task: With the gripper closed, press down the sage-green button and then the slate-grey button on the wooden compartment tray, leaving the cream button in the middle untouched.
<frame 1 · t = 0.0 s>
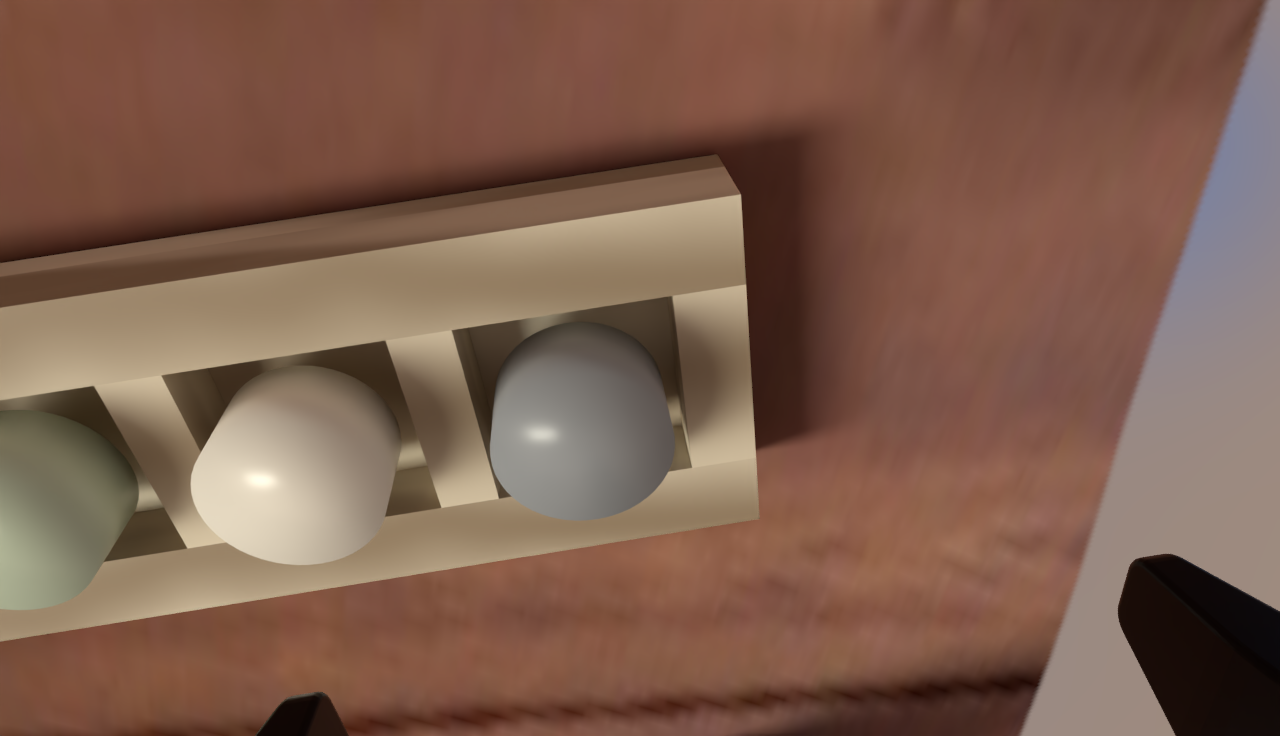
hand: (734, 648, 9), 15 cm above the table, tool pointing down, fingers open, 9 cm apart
button sage: (21, 510, 20), point 4 cm above the table, slide at 0.0 cm
button cream: (303, 465, 20), point 4 cm above the table, slide at 0.0 cm
button slate: (581, 421, 21), point 4 cm above the table, slide at 0.0 cm
wooden compartment tray: (335, 383, 24), on the table
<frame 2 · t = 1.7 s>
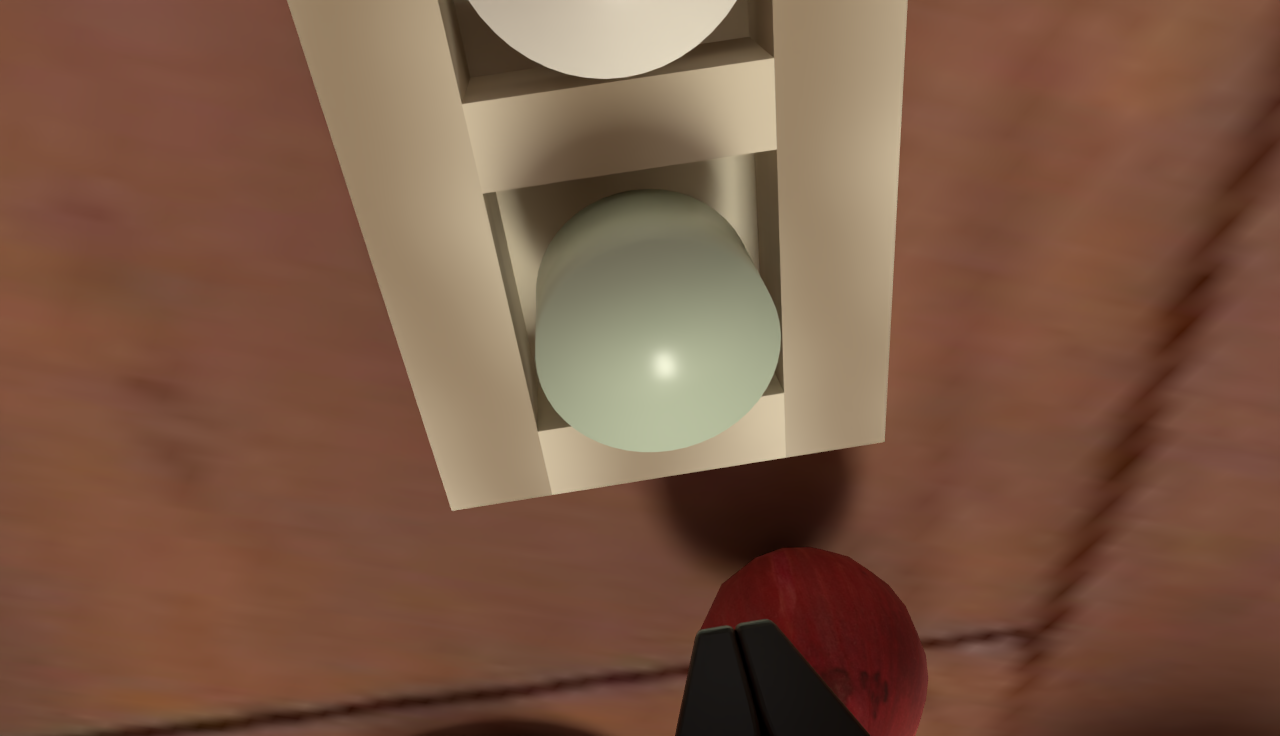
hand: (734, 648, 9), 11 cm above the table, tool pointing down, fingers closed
button sage: (651, 321, 16), point 4 cm above the table, slide at 0.0 cm
onion: (773, 557, 25), on the table
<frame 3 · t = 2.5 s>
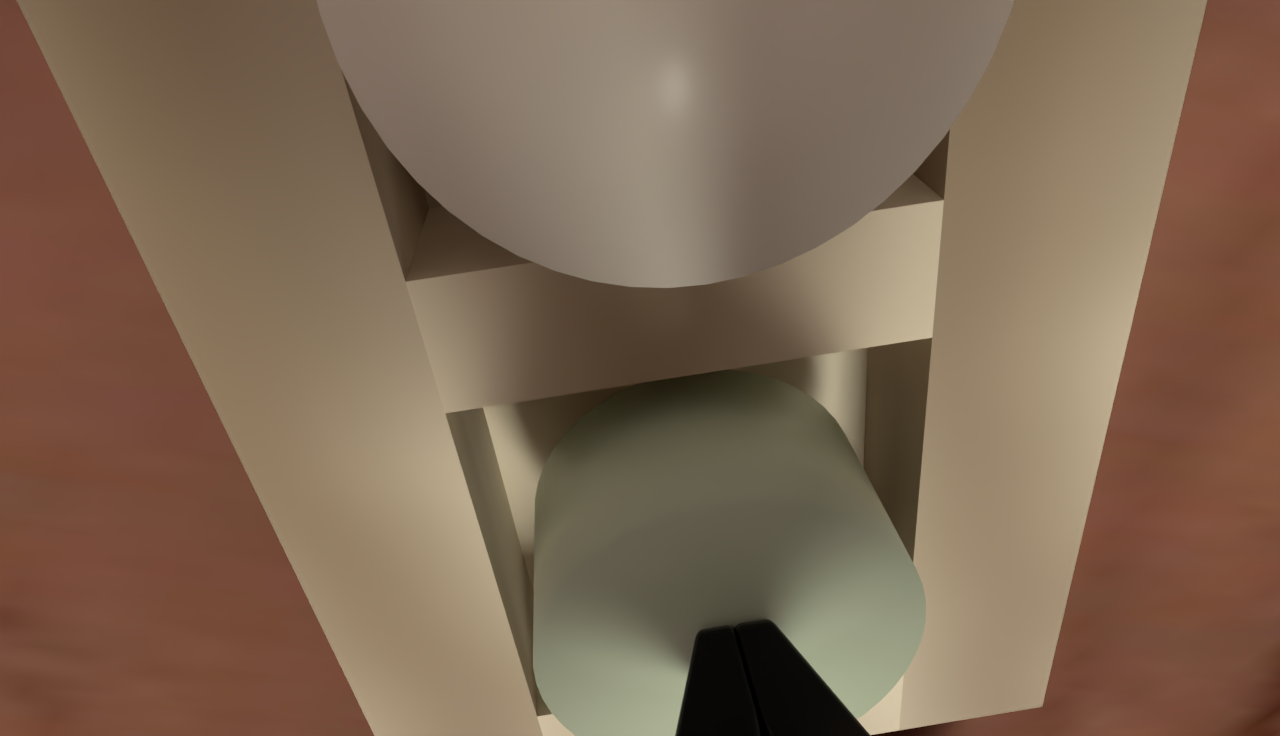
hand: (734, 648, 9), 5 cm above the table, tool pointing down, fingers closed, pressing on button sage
button sage: (713, 571, 10), point 3 cm above the table, slide at 0.5 cm, touching gripper
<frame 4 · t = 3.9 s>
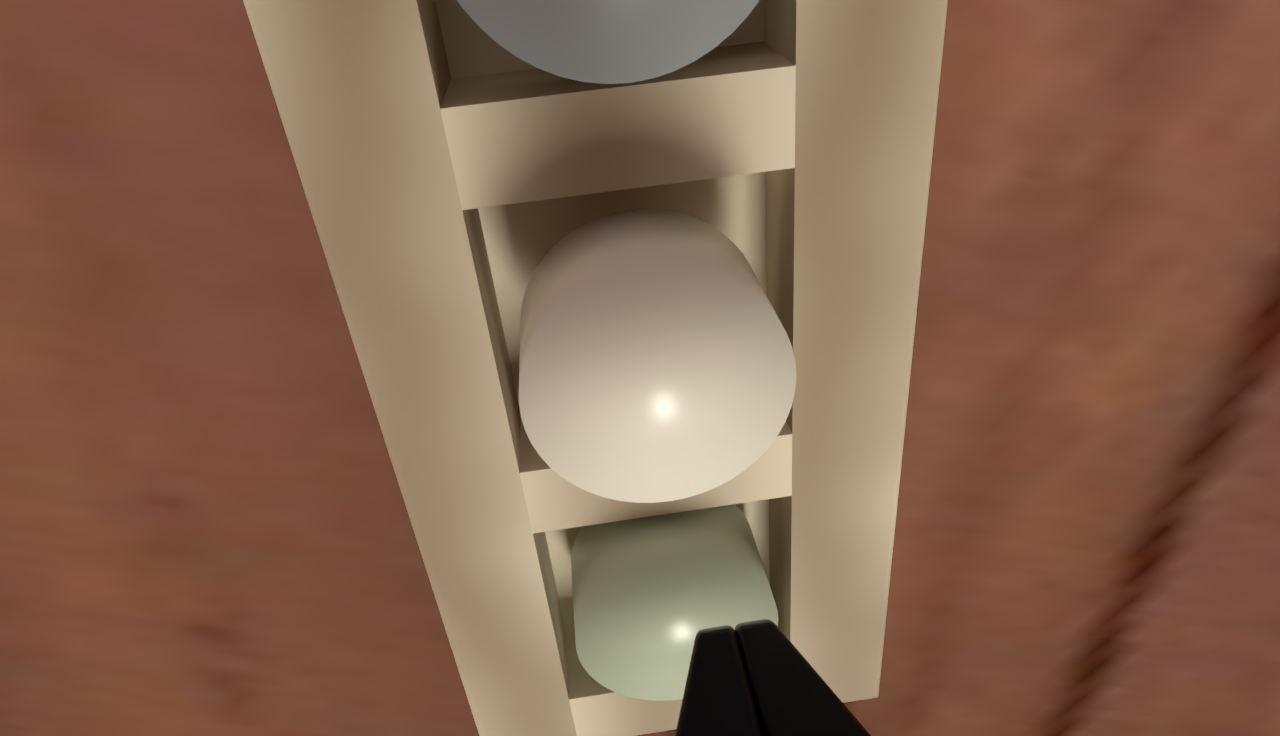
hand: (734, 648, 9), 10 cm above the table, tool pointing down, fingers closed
button sage: (670, 592, 19), point 3 cm above the table, slide at 1.2 cm
button cream: (650, 356, 14), point 4 cm above the table, slide at 0.0 cm
wooden compartment tray: (628, 264, 17), on the table
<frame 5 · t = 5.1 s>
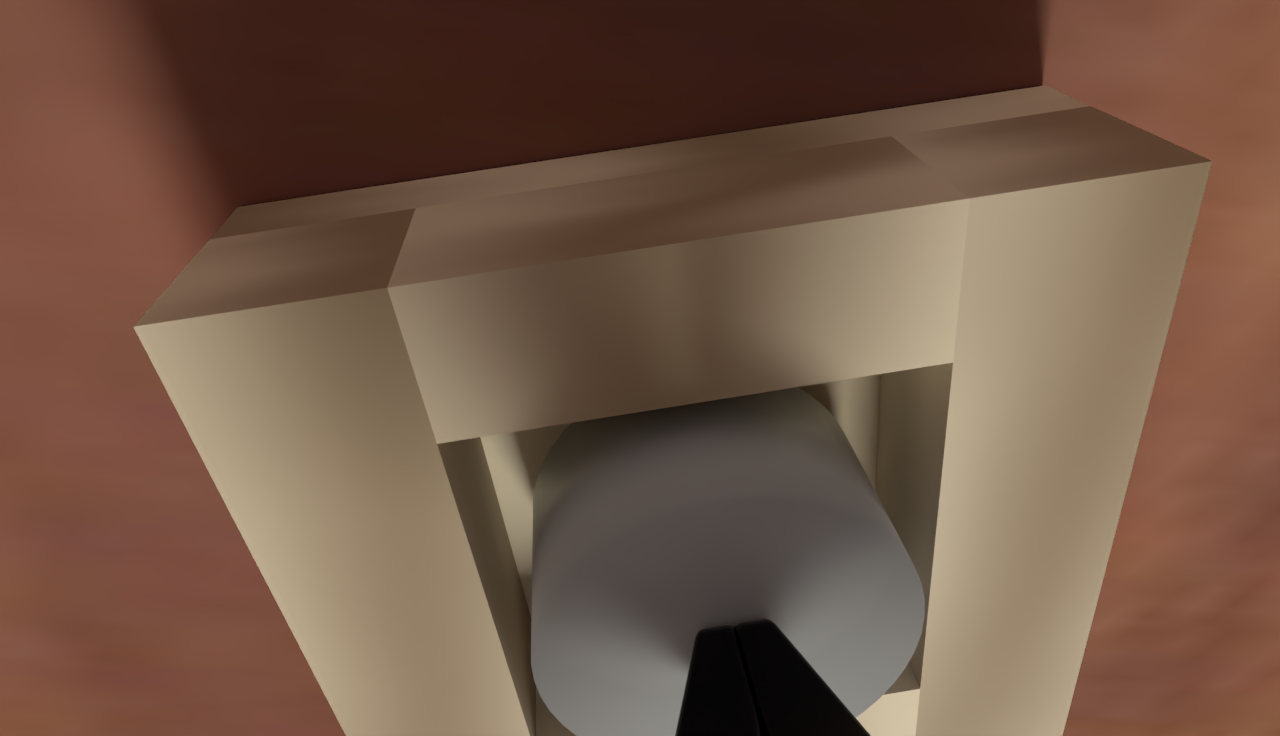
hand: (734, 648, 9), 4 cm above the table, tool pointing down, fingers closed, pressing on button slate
button slate: (711, 569, 10), point 3 cm above the table, slide at 1.1 cm, touching gripper
wooden compartment tray: (712, 717, 16), on the table
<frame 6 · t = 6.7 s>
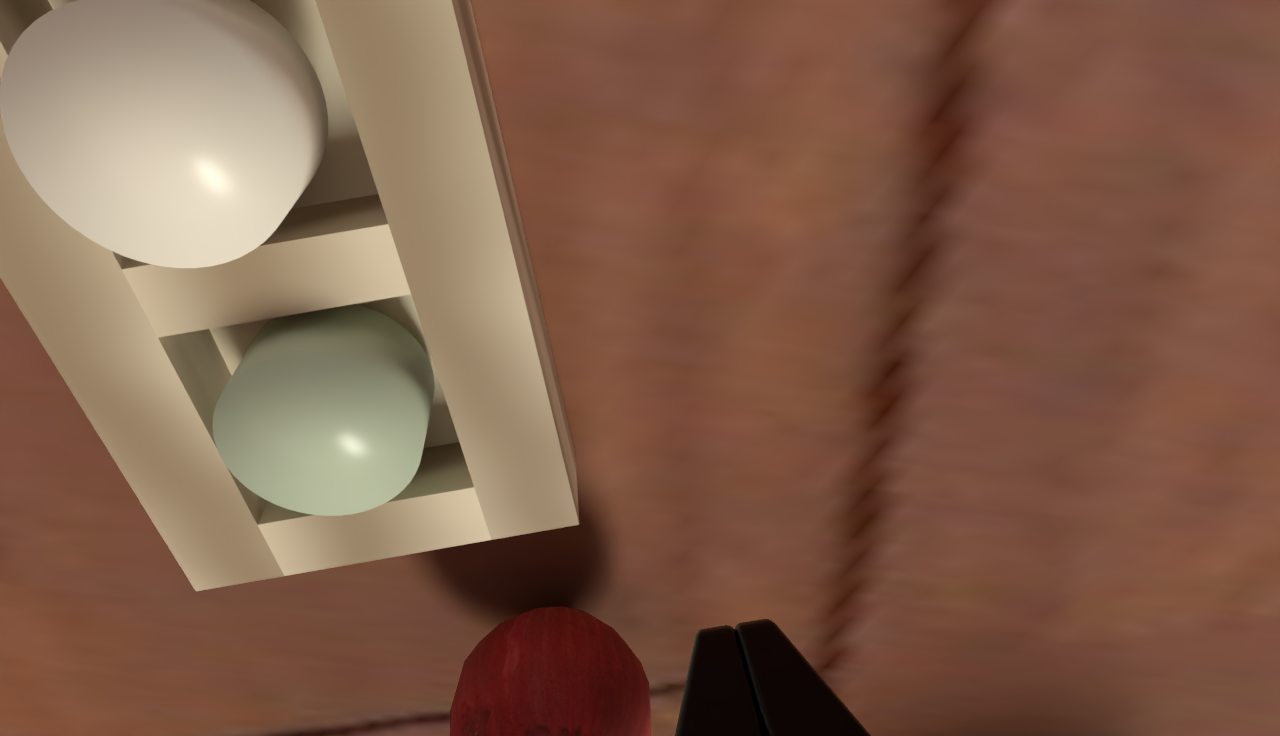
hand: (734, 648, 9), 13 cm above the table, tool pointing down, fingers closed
button sage: (331, 409, 19), point 3 cm above the table, slide at 1.2 cm
button cream: (181, 124, 14), point 4 cm above the table, slide at 0.0 cm
wooden compartment tray: (247, 75, 18), on the table
onion: (551, 610, 27), on the table
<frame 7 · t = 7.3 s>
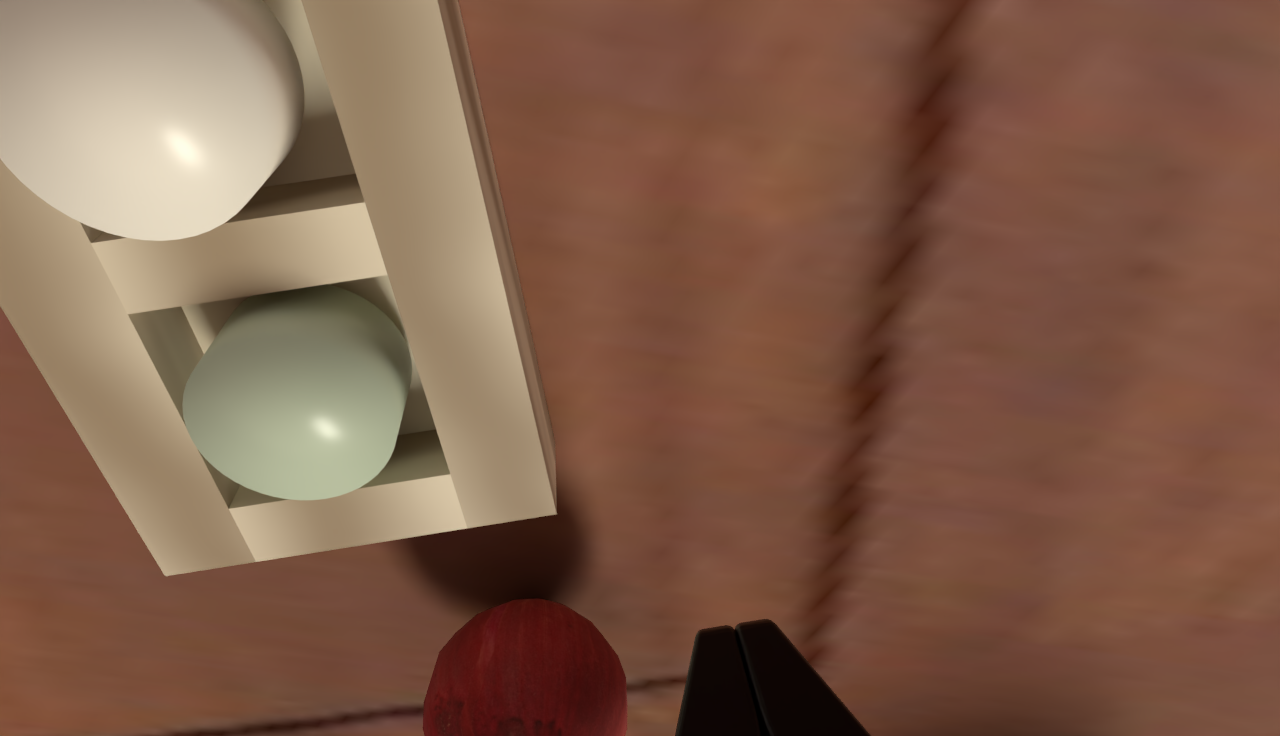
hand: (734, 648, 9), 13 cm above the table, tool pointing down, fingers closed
button sage: (306, 391, 19), point 3 cm above the table, slide at 1.2 cm
button cream: (152, 93, 14), point 4 cm above the table, slide at 0.0 cm
wooden compartment tray: (224, 49, 17), on the table
onion: (529, 603, 27), on the table
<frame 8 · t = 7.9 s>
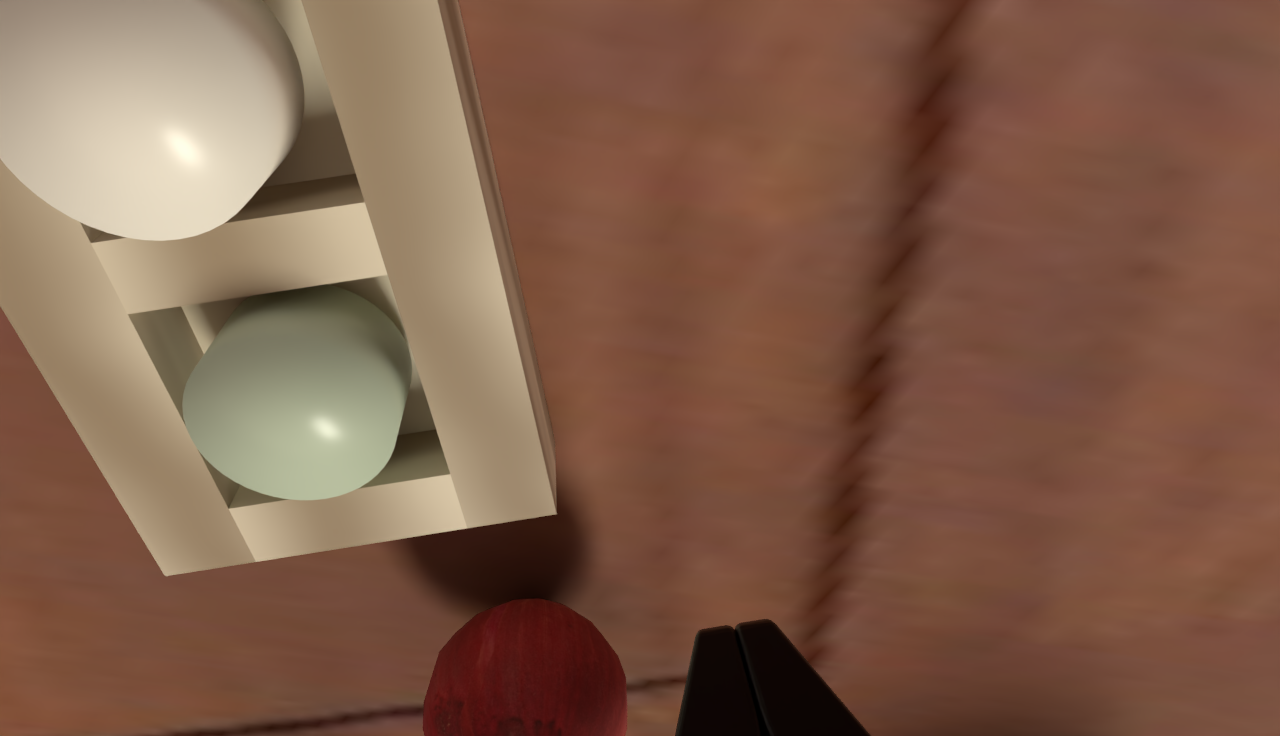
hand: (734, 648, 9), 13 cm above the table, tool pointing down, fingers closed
button sage: (306, 391, 19), point 3 cm above the table, slide at 1.2 cm
button cream: (152, 93, 14), point 4 cm above the table, slide at 0.0 cm
wooden compartment tray: (224, 49, 17), on the table
onion: (529, 603, 27), on the table
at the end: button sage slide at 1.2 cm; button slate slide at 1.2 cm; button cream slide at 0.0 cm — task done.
